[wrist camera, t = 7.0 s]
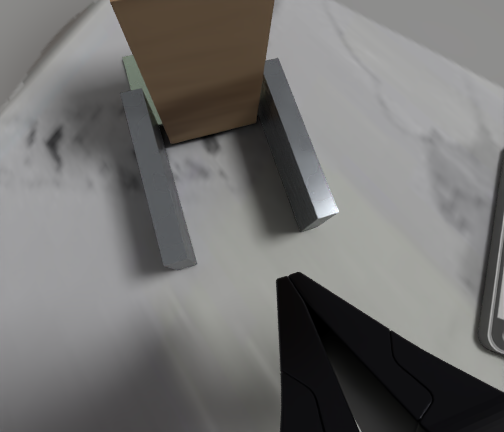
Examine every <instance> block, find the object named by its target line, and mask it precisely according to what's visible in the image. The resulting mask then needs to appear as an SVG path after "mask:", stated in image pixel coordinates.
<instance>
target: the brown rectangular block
mask: <svg viewBox="0 0 504 432" xmlns="http://www.w3.org/2000/svg"><path fill="white" fill-rule="evenodd" d="M110 3H111V5H112V7H113V10H114V12H115V14H116V17H117V19H118V21H119V24H120V26H121V28H122V31H123V33H124V35H125V38H126V40H127V42H128V45H129V47H130V49H131V52H132V54H133V56H134V59H135V61H136V63H137V66H138V68H139V70H140V73H141V75H142V77H143V80H144V82H145V84H146V87H147V89H148V91H149V94H150V96H151V98H152V100H153V103H154V105H155V107H156V110H157V112H158V114H159V117H160V119H161V121H162V124H163V126H164V128H165V131H166V133H167V135H168V138H169V140H170V142H171V144H174V143H178V142H182V141H186V140H190V139H194V138H198V137H202V136H206V135H210V134H214V133H218V132H222V131H226V130H230V129H234V128H238V127H242V126H246V125H250V124H254V123H256V120H257V113H258V106H259V100H260V93H261V86H262V80H263V73H264V66H265V60H266V53H267V46H268V40H269V33H270V26H271V19H272V13H273V6H274V0H110Z"/></svg>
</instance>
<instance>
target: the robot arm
mask: <svg viewBox="0 0 504 432" xmlns="http://www.w3.org/2000/svg"><path fill="white" fill-rule="evenodd" d="M276 290H277V310H278V331H279V351H280V371H281V374H280V375H281V423H280V432H359V429H358V427H357V424H358V426H359V427H360V429H361V431H362V432H504V392H502V391H500V390H498V389H496V388H494V387H492V386H490V385H488V384H487V383H485V382H483V381H481V380H479V379H477V378H475V377H473V376H471V375H469V374H467V373H466V372H464V371H462V370H460V369H458V368H456V367H454V366H452V365H450V364H448V363H446V362H445V361H443V360H441V359H439V358H437V357H435V356H434V355H432V354H430V353H428V352H426V351H424V350H423V349H421V348H419V347H418V346H416V345H414V344H413V343H411V342H409V341H408V340H406V339H404V338H403V337H401V336H400V335H398V334H396V333H395V332H393V331H390V330H389V328H387V327H385V326H384V325H382V324H381V323H379V322H378V321H376V320H374V319H373V318H371V317H370V316H368V315H367V314H365V313H363V312H362V311H360V310H359V309H357V308H356V307H354V306H352V305H351V304H349V303H348V302H346V301H345V300H343V299H342V298H340V297H338V296H337V295H335V294H334V293H332V292H331V291H329V290H327V289H326V288H324V287H323V286H321V285H320V284H318V283H316V282H315V281H313V280H312V279H310V278H309V277H307V276H305V275H304V274H302V273H301V272H296V273H293V274H290V275H289V276H284V277H281V278H278V279H277V280H276ZM354 419H355V420H356V422H357V424H356V422H355V420H354Z"/></svg>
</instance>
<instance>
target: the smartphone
mask: <svg viewBox="0 0 504 432" xmlns="http://www.w3.org/2000/svg"><path fill="white" fill-rule="evenodd" d="M478 337H479V340H480V342H481V343H482V345H483V346H484V347H485V348H487V349H489V350H491V351H494V352H497V353H499V354H502V355H504V156H503V163H502V170H501V176H500V183H499V190H498V197H497V204H496V211H495V218H494V225H493V232H492V239H491V246H490V253H489V260H488V267H487V274H486V281H485V288H484V294H483V301H482V308H481V315H480V322H479V329H478Z"/></svg>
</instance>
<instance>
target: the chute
mask: <svg viewBox="0 0 504 432" xmlns="http://www.w3.org/2000/svg"><path fill="white" fill-rule="evenodd" d="M122 58H123V61H124V65H125V69H126V73H127V77H128V81H129V84H130V88H131V91H127V92H122V93H120V94H121V98H122V102H123V106H124V110H125V114H126V118H127V122H128V126H129V130H130V134H131V138H132V142H133V146H134V150H135V154H136V158H137V162H138V166H139V170H140V174H141V178H142V182H143V186H144V190H145V194H146V198H147V202H148V206H149V210H150V214H151V218H152V222H153V226H154V230H155V234H156V238H157V242H158V246H159V250H160V254H161V258H162V262H163V266H165V267H169V268H172V269H176V270H180V269H184V268H187V267H190V266H193V265H197V262H196V258H195V255H194V251H193V247H192V244H191V240H190V236H189V233H188V229H187V226H186V222H185V218H184V215H183V211H182V207H181V204H180V200H179V197H178V193H177V189H176V186H175V182H174V178H173V175H172V171H171V167H170V164H169V160H168V157H167V153H166V149H165V146H164V142H163V138H162V135H161V131H160V128H159V126H162V125H163V124H162V121H161V119H160V117H159V114H158V112H157V110H156V107H155V105H154V103H153V100H152V98H151V96H150V94H149V91H148V89H147V87H146V84H145V82H144V80H143V77H142V75H141V73H140V70H139V68H138V66H137V63H136V61H135V59H134V56H133V55H130V56H126V57H122ZM258 115H259V118H260V121H261V123H262V126H263V129H264V132H265V135H266V137H267V140H268V143H269V146H270V149H271V151H272V154H273V157H274V160H275V162H276V165H277V168H278V171H279V174H280V176H281V179H282V182H283V185H284V188H285V190H286V193H287V196H288V199H289V201H290V204H291V207H292V210H293V213H294V215H295V218H296V221H297V224H298V227H299V229H300V232H302V231H306V230H309V229H312V228H315V227H318V226H319V225H321V224H322V223H324V222H325V221H327V220H328V219H330V218H331V217H333V216H334V215H335V214H337V213H338V212H339V211H338V209H337V206H336V204H335V201H334V199H333V196H332V193H331V191H330V188H329V186H328V183H327V181H326V178H325V176H324V173H323V171H322V168H321V165H320V163H319V160H318V158H317V155H316V153H315V150H314V148H313V145H312V143H311V140H310V138H309V135H308V132H307V130H306V127H305V125H304V122H303V120H302V117H301V115H300V112H299V110H298V107H297V104H296V102H295V99H294V97H293V94H292V92H291V89H290V87H289V84H288V82H287V79H286V77H285V74H284V71H283V69H282V66H281V64H280V61H279V59H278V58H276V59H271V60H267V61H265V66H264V73H263V80H262V86H261V93H260V100H259V106H258Z"/></svg>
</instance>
